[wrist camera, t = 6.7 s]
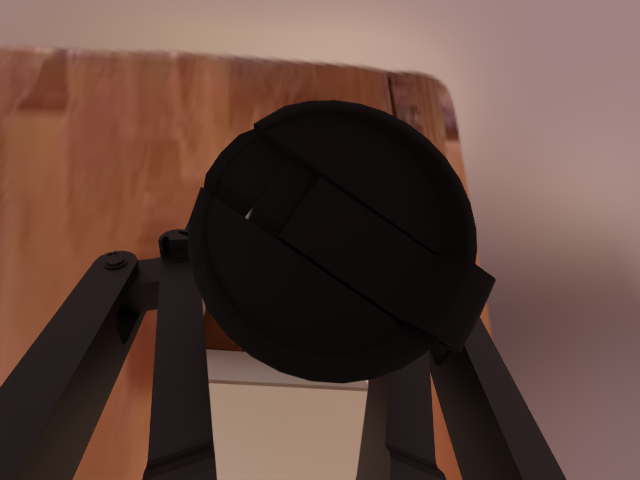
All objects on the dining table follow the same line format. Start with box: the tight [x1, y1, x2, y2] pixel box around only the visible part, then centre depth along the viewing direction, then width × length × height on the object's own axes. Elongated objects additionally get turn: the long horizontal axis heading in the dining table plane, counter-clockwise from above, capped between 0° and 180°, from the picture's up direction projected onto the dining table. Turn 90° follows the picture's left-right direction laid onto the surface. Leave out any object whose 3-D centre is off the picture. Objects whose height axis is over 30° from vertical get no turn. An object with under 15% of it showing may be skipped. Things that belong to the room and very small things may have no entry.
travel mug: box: [188, 100, 496, 384], centre depth 15 cm, size 6×7×20 cm
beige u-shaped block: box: [202, 299, 368, 480], centre depth 20 cm, size 15×14×8 cm
